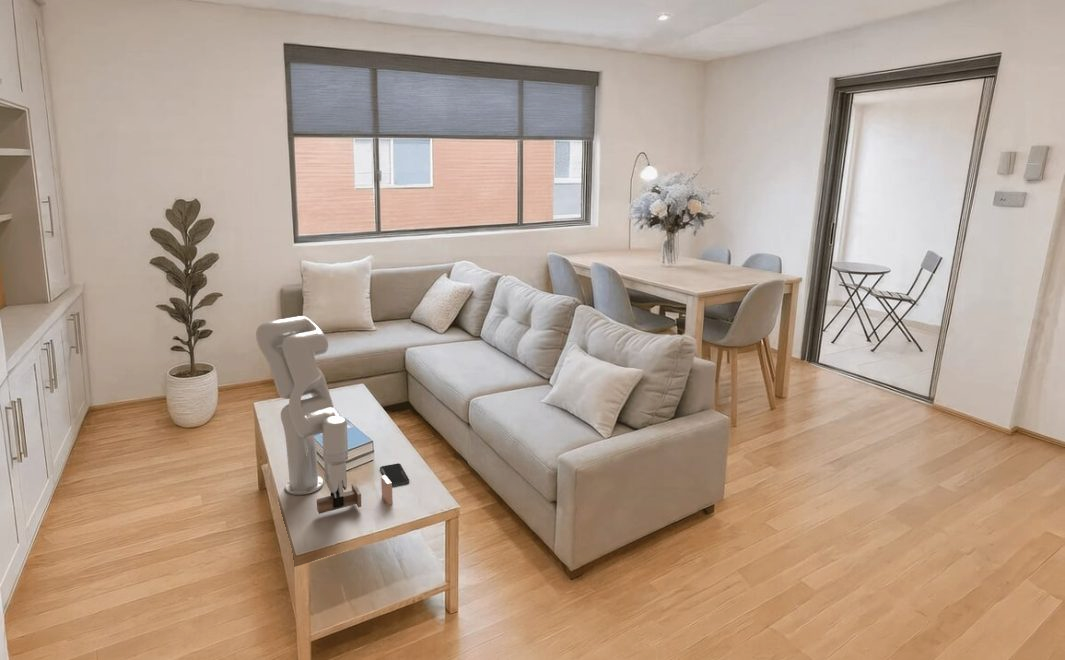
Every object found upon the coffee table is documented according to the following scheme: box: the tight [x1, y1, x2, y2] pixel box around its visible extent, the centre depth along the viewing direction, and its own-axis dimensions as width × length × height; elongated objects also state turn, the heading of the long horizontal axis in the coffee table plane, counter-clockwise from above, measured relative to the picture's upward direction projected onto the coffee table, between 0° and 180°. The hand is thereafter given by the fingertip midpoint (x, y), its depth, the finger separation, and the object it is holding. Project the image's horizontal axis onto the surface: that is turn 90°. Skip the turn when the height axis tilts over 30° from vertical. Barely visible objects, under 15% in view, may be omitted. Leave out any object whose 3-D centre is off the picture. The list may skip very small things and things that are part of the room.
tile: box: [380, 475, 394, 506], centre depth 211 cm, size 6×2×8 cm, turn 32°
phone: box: [379, 463, 410, 488], centre depth 229 cm, size 8×1×15 cm
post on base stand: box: [316, 482, 362, 515], centre depth 204 cm, size 7×13×5 cm, turn 122°
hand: (337, 504), depth 204 cm, fingers closed on post on base stand
